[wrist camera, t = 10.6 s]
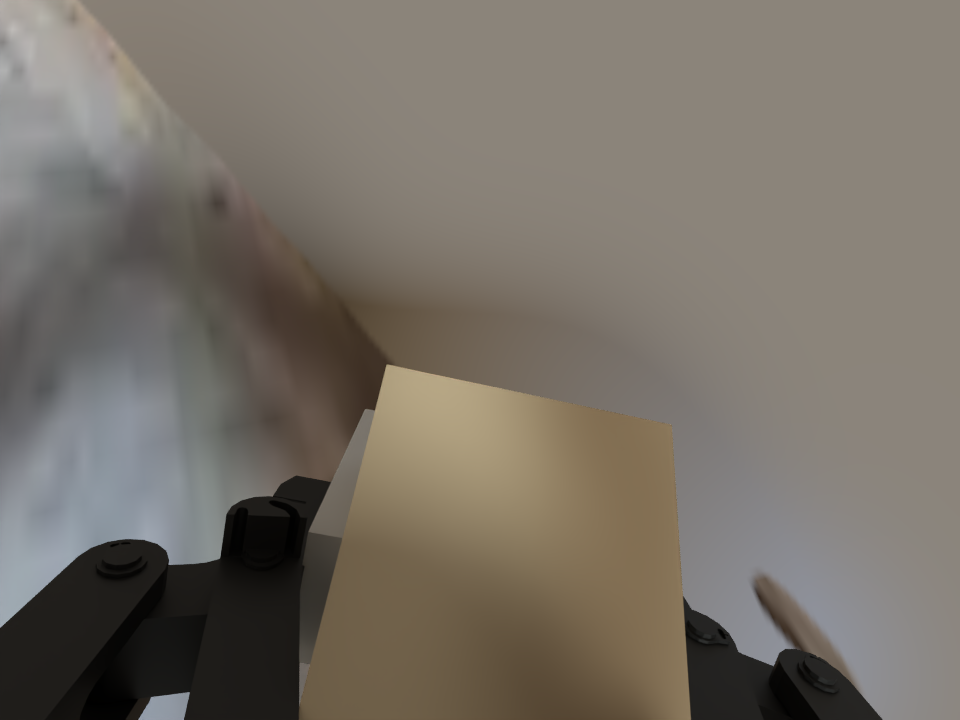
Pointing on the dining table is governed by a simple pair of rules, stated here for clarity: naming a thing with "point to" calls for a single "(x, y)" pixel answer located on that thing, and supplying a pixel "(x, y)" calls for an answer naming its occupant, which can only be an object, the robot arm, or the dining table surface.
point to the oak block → (504, 564)
